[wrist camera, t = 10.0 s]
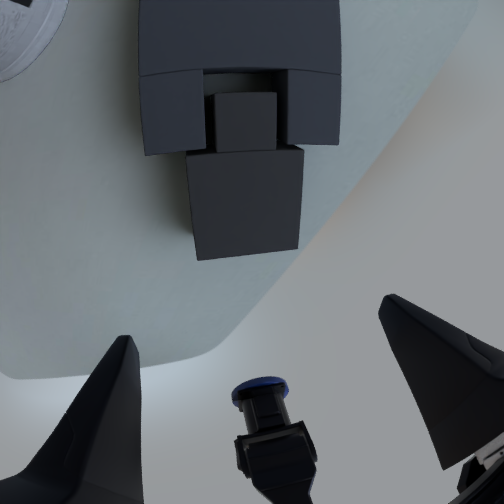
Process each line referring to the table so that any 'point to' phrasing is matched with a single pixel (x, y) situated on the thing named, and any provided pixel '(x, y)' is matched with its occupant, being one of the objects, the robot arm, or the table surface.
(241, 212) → the black tabbed block
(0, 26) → the glass holder
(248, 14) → the dark grey block
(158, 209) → the table surface
